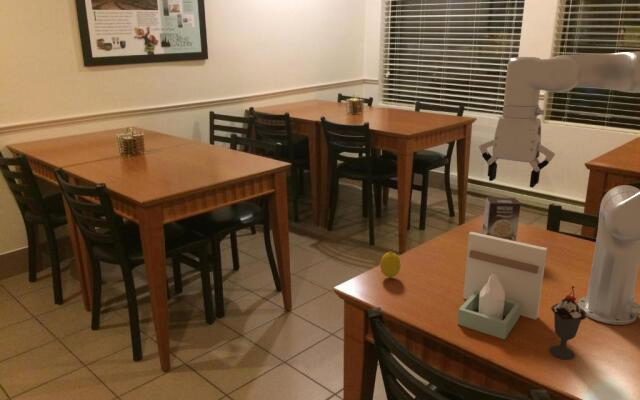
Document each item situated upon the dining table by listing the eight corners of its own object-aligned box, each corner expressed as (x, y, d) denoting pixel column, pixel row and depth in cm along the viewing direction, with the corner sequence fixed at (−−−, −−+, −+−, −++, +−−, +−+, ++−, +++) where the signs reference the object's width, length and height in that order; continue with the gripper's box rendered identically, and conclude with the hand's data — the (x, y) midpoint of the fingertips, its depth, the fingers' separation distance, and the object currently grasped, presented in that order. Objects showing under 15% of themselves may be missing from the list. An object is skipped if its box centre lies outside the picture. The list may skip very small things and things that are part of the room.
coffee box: (484, 252, 161) (489, 203, 156) (480, 244, 167) (485, 196, 162) (515, 253, 160) (521, 203, 155) (510, 245, 167) (515, 197, 161)
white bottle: (500, 284, 116) (476, 276, 120) (495, 330, 120) (472, 322, 124) (511, 274, 120) (488, 267, 124) (506, 320, 124) (484, 312, 128)
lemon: (384, 283, 142) (385, 256, 140) (377, 274, 147) (377, 248, 145) (403, 281, 144) (404, 254, 141) (395, 272, 149) (396, 246, 146)
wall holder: (537, 317, 125) (547, 248, 120) (520, 344, 115) (530, 270, 109) (465, 296, 135) (470, 231, 130) (443, 319, 125) (448, 250, 119)
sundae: (569, 343, 115) (579, 282, 110) (585, 361, 109) (596, 297, 104) (539, 344, 115) (548, 282, 110) (553, 362, 108) (563, 298, 104)
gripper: (563, 113, 119) (553, 185, 125) (488, 107, 129) (482, 174, 134) (555, 117, 113) (545, 192, 119) (477, 111, 123) (471, 181, 128)
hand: (512, 182), depth 127 cm, fingers open, 9 cm apart
